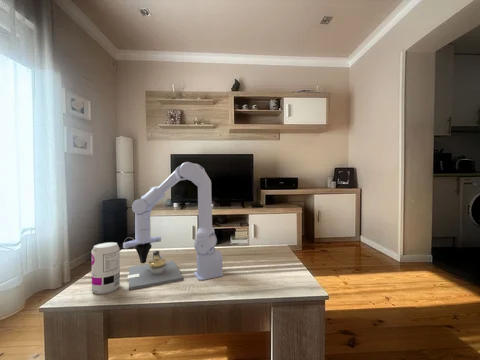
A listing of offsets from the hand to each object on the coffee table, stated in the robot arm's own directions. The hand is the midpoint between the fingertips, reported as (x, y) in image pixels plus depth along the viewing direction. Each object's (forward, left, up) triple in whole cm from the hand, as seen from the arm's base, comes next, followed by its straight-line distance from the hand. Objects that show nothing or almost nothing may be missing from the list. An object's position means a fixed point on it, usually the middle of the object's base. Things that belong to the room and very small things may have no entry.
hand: (143, 262), depth 94 cm
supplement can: (+12, +11, -4) cm, 17 cm away
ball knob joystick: (-5, +2, 0) cm, 5 cm away
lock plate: (-4, +5, -4) cm, 7 cm away
